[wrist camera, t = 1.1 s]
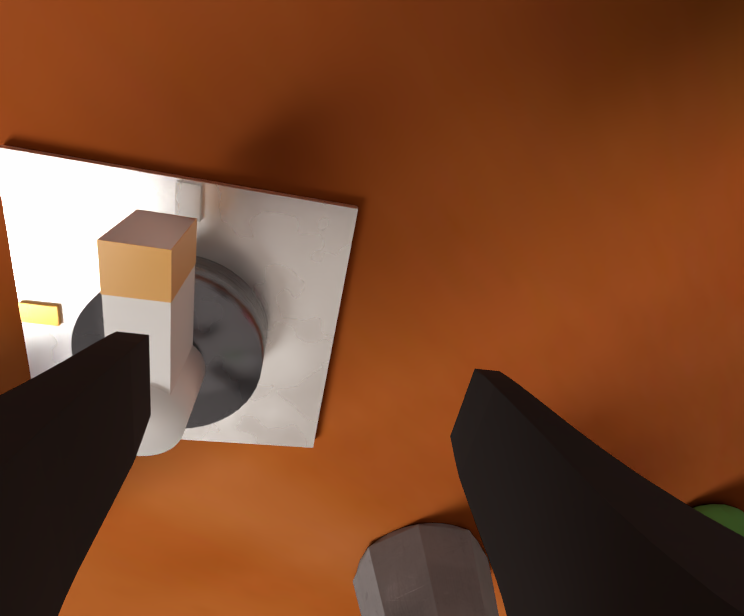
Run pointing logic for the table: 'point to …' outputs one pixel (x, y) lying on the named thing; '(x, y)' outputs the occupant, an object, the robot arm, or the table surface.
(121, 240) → the lever handle
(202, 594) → the table surface
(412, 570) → the coffeepot
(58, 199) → the post base
